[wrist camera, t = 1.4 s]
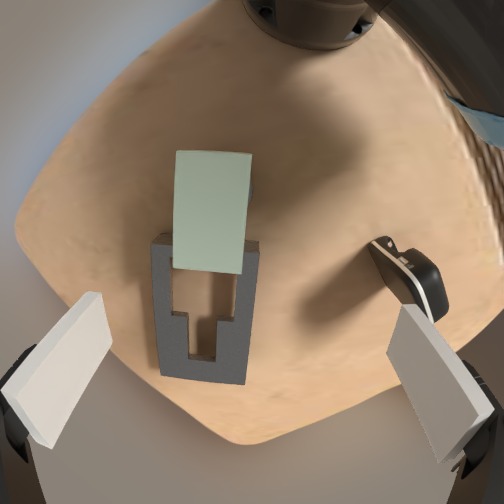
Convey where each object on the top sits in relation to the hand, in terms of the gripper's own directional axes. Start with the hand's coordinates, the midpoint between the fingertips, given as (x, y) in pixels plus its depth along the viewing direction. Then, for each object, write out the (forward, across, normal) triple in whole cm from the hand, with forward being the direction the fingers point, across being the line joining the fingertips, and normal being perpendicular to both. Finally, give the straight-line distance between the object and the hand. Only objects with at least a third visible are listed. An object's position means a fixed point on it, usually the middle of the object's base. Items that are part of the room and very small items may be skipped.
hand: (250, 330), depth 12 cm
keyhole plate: (+21, -5, -12) cm, 24 cm away
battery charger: (+21, +16, -5) cm, 27 cm away
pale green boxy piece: (+21, -3, +2) cm, 21 cm away
